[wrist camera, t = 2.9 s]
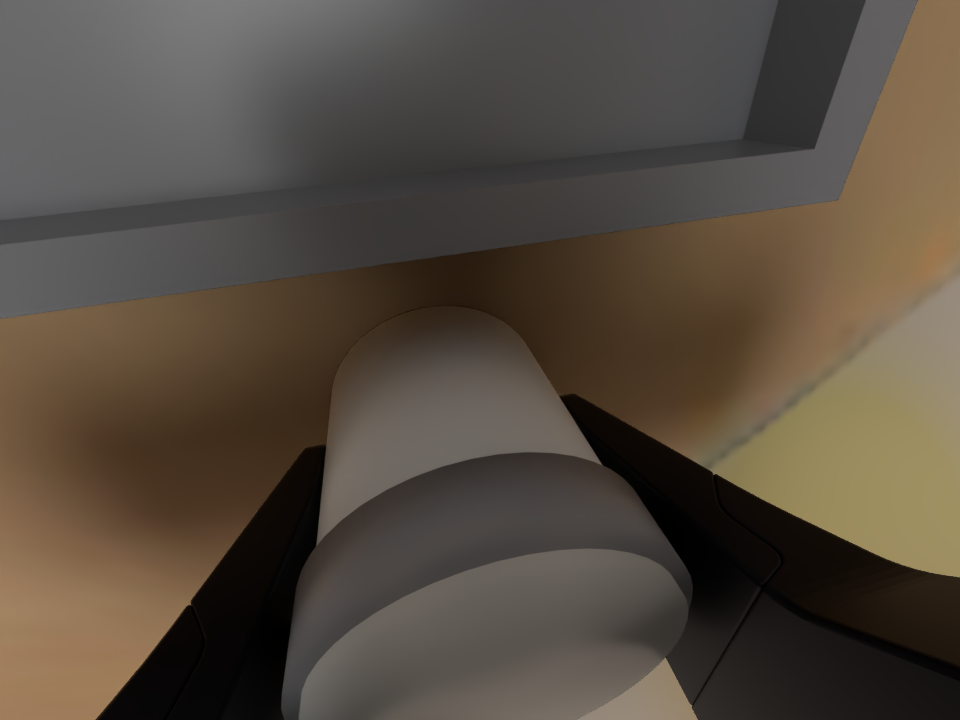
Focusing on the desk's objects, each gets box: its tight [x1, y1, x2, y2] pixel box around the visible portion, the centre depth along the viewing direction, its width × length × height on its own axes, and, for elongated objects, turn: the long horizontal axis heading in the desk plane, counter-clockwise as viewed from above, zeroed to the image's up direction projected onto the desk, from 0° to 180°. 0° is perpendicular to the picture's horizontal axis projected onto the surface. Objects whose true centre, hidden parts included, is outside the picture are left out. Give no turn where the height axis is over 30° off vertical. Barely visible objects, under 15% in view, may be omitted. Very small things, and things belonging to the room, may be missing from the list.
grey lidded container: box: [281, 306, 693, 720], centre depth 8 cm, size 5×5×6 cm
